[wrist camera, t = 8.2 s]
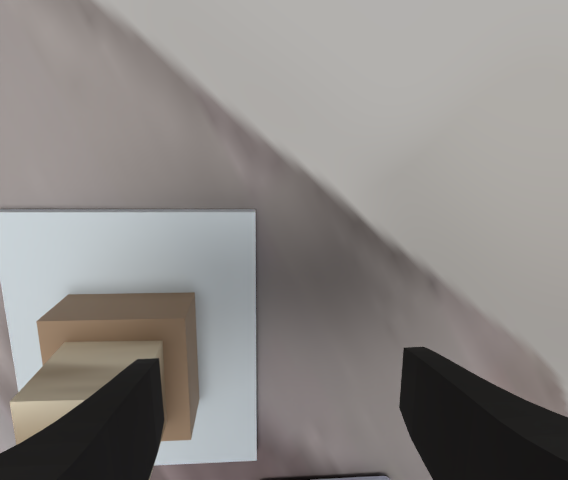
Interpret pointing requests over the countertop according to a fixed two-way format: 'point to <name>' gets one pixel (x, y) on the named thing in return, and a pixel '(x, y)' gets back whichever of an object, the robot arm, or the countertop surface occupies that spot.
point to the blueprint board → (148, 267)
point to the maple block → (76, 381)
